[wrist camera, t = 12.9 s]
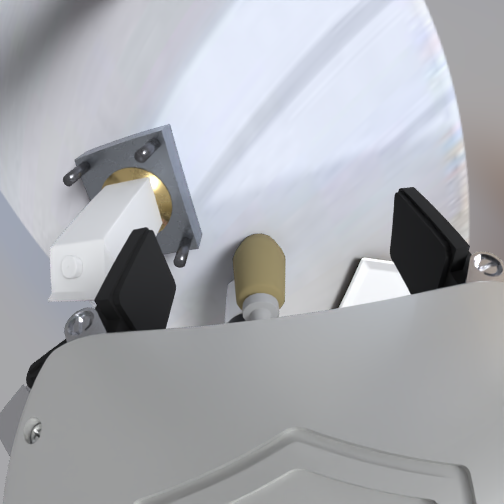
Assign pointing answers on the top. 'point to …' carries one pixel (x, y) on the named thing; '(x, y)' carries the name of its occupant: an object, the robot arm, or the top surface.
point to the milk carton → (100, 238)
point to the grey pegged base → (162, 179)
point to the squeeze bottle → (259, 277)
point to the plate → (374, 283)
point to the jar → (232, 306)
